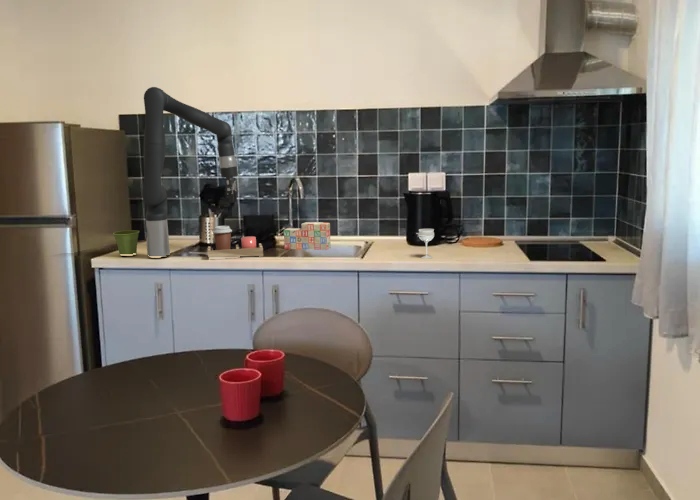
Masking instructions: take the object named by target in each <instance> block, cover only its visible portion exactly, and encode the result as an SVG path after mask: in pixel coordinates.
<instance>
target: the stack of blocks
mask: <svg viewBox="0 0 700 500" xmlns="http://www.w3.org/2000/svg"><path fill="white" fill-rule="evenodd" d="M283 244H284V245H283V246H284V249H285V250H309V251H310V250H312V251H314V250H315V251H316V250H317V251H321V250H322V251H324V250H325V251H327V250H329V249H331V223H330V222H322V221H320V222H319V221H316V222H315V221H314V222H308V221H306V222H303V223H301V228H299V227H298V228H297V227H296V228H295V227H291V228H290V227H287V228H286V229H283Z"/></svg>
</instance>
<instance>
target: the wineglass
mask: <svg viewBox="0 0 700 500" xmlns="http://www.w3.org/2000/svg"><path fill="white" fill-rule="evenodd" d="M434 230H435V229H434V228H428V227H427V228H425V227H424V228H419V229H418V234H417V235H418V238H419V240H421V241H422V242H423V243H425V255H424V256H421V257H420V259H432V258H433V257H432V256H429V255H428V243H429V242H430V241H432V240H433V239H434V237H435V232H434Z"/></svg>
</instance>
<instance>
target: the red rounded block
mask: <svg viewBox="0 0 700 500" xmlns="http://www.w3.org/2000/svg"><path fill="white" fill-rule="evenodd" d="M256 238H257V237H256V236H253V235H251V236H242V237H241V238H240V239H241V249H244V248H257V239H256Z"/></svg>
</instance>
